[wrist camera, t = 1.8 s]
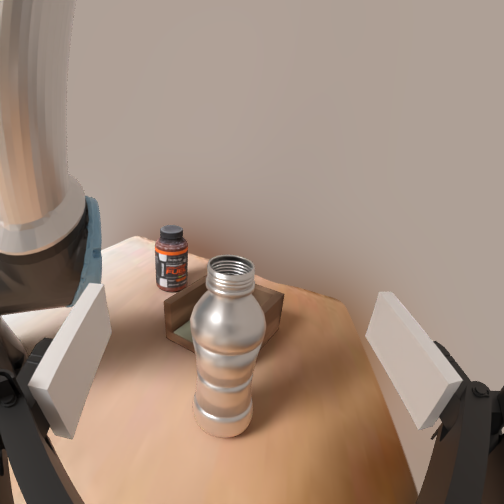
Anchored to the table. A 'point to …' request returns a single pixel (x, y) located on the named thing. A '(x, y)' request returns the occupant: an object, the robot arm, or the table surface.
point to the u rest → (185, 300)
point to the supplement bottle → (171, 259)
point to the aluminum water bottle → (226, 346)
